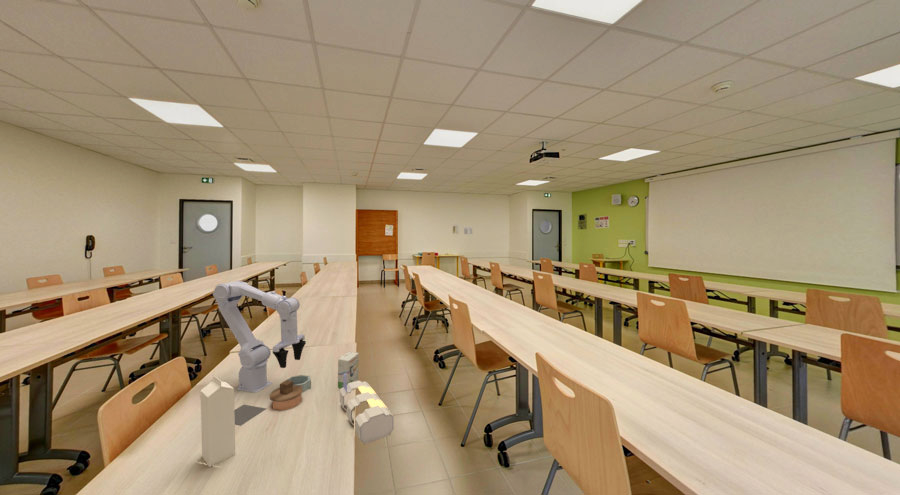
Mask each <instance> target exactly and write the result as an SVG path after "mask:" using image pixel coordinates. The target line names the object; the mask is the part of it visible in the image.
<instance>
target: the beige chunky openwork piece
mask: <svg viewBox="0 0 900 495" xmlns="http://www.w3.org/2000/svg"><path fill="white" fill-rule="evenodd" d="M346 378H347V374H346V373H345V374H344V375H343V380H344V381H343V387H342V388H339V403H340V405H341V406H342V409H343V410H345V412H346V416H347V418H348V420H349V422H350V424H352V425H353V427H354V423H355V427H354V431H355V434H356V436H357V437H358V439H359V442H361V443H362V445H363V446H364V445H366V444H369V443H372V442H375V441H378V440H381V439H384V438H386V437H389V436H391V435H392V432H393V431H394V427H395V426H394V415H393V414H392V412H391V410H390V409H389V408H388V406H387V405H385V403H384V402H383V400H382V399H381V398H380V397H379V395H378V394H377V393H376V391H375V390H374V389H373V388H372V385H371V384H369V383H368V382H367V381H361V380H359V379H358V380H357V381H355V382H351V383H348V384H347V379H346ZM357 389H358V390H359V392H360V394H356V395H355V396H354V398H350V399H349V400H348V401H347V402H346V405H345V396H346V395H348V394H350V393H352V391H353V390H357ZM362 403H366V404H367V405H368V407H369V408H366V409H364V411H363V412H362V413H358V414H357V415H356V416H355V418H354V419H355V420H353V410H354V408H357V407H359V406H360V405H361V404H362Z"/></svg>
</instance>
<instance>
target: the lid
mask: <svg viewBox="0 0 900 495" xmlns="http://www.w3.org/2000/svg"><path fill="white" fill-rule="evenodd" d="M302 393H303V392H302V387H301V386H299V385H293V381H289V380H287V379H285V380H284V381H282V382H280V383H279V387H277V388H276V389H274V390H273V391H271V392H270V394H269V399H270V400H271V401H272V402H273V401H275V402H283V401H288V400H291V399H294V398H296V397H298V396H299V395H300V394H301V395H302Z"/></svg>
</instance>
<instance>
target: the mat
mask: <svg viewBox="0 0 900 495" xmlns="http://www.w3.org/2000/svg"><path fill="white" fill-rule="evenodd" d="M267 409H268V408H266V407H260V406H255V405H248V404H242V405H240V406H239V407H237V408H234V413H235V426H240V427H241V426H243V425H244V424H246V423H247V422H249V421H250V420H252V419H254V418H255V417H256V416H258V415H259V414H261V413H262V412H264V411H265V410H267Z"/></svg>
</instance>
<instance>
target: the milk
mask: <svg viewBox="0 0 900 495" xmlns="http://www.w3.org/2000/svg"><path fill="white" fill-rule="evenodd" d="M212 379H213V380H212V381H210V382H209V383H208V384H207V385H205V386H204V387H203V388H202V389H200V419H201V420H200V421H201V425H200V426H201V429H200V430H201V457H202V459H203V460H204V462H206V465H207V466H208V468H212V467H213V465H215V464H218V463H219V462H222V461H224V460H226V459H229V457H231V456H233V455H236V427H235V426H236V425H235V413H234V410H235V388H234V387H233V386H231V385H230V384H229V383H228V382H226V381H222V380H221V379H219V378H218V377H217V376H215V374H214V375H213V376H212ZM211 466H212V467H211Z"/></svg>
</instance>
